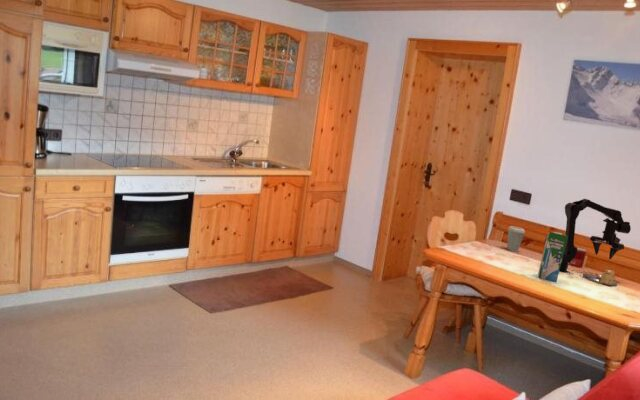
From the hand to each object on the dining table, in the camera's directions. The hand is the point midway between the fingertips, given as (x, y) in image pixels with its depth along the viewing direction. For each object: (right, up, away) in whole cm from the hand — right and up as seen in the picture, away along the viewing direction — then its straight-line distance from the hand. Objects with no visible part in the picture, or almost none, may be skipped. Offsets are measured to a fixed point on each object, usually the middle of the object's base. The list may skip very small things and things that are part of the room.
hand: (603, 256), depth 332 cm
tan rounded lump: (-7, -12, -16) cm, 22 cm away
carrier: (-7, -13, -9) cm, 17 cm away
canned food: (-6, -8, +24) cm, 26 cm away
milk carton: (-44, -9, -28) cm, 53 cm away
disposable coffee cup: (-41, 0, +37) cm, 55 cm away
